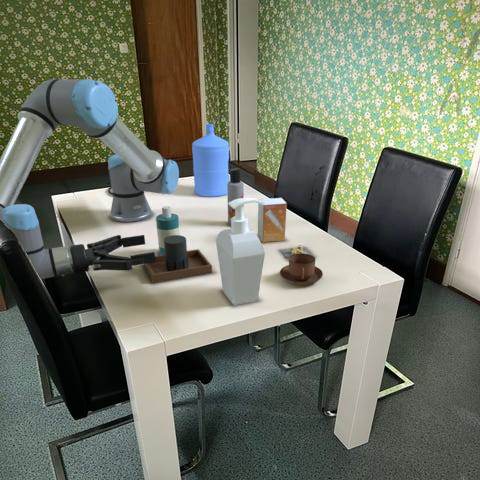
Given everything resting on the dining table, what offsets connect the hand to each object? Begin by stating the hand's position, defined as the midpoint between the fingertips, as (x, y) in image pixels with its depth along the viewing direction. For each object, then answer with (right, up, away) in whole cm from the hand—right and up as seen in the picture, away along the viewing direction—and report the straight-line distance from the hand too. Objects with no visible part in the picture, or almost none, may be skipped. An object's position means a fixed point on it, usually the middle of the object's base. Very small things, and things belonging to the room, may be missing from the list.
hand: (149, 247), depth 131 cm
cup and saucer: (+43, -9, +1) cm, 44 cm away
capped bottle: (+3, +1, +17) cm, 17 cm away
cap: (+7, -5, +6) cm, 11 cm away
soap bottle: (+26, -14, -8) cm, 31 cm away
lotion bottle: (+24, +15, +39) cm, 48 cm away
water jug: (+13, +36, +74) cm, 84 cm away
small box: (+36, +7, +27) cm, 46 cm away
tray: (+7, -5, +6) cm, 11 cm away
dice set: (+44, 0, +16) cm, 46 cm away
